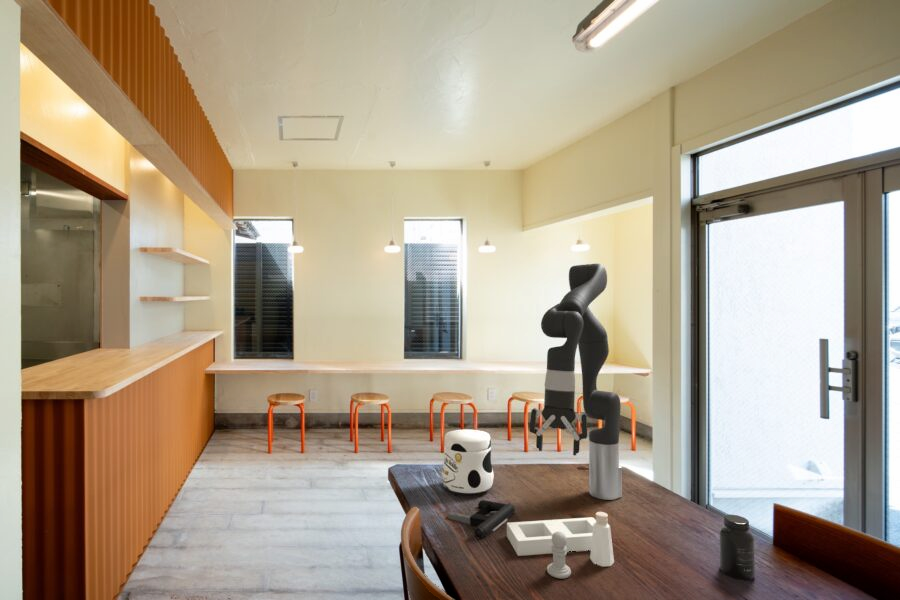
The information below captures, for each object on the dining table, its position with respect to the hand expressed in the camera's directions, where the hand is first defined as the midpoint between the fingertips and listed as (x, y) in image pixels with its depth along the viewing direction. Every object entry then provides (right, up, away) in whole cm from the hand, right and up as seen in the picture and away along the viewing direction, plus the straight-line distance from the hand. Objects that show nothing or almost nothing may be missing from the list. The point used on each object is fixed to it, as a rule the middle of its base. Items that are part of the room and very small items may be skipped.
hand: (557, 452), depth 117 cm
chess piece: (-3, -23, -13) cm, 27 cm away
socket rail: (0, -23, +1) cm, 23 cm away
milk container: (-21, -25, +37) cm, 49 cm away
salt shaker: (+9, -23, -8) cm, 26 cm away
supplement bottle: (+38, -23, -13) cm, 46 cm away
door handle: (-19, -24, +14) cm, 34 cm away
